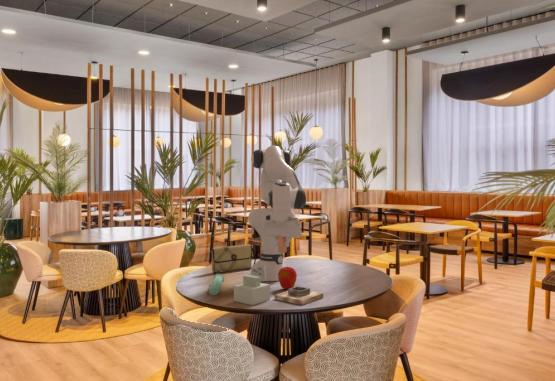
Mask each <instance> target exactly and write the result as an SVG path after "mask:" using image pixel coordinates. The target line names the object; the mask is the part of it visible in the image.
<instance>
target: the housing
mask: <svg viewBox="0 0 555 381" xmlns="http://www.w3.org/2000/svg"><path fill="white" fill-rule="evenodd" d="M242 282H243V283H240V284H235V285H233V302H237V303H242V304H245V305H249V306H255V305H258V304H261V303H264V302H267V301H270V300H271V292H270V290H271V288H270V287H271V286H270V283H262V282H261V281H260V277H257V276H252V275H248V274H246V275H242Z"/></svg>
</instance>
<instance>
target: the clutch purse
mask: <svg viewBox="0 0 555 381" xmlns="http://www.w3.org/2000/svg"><path fill="white" fill-rule="evenodd" d="M209 253H211V272H212V274H215V273H214V272H217V273H223V274H226V272H230V271H229V270H231V271H237V270H236V269H238V270H244V269H243V268H246V271H249V270H250V271H251V267H252V266H253V265H254V264H255V263H256V262H257V258H256V253H255V250H254V247H253V246H252V244H251V243H249V244H240V245H239V244H238V245H231V246H230V245H229V246H221V247H220V246H219V247H212V248H211V249H210V251H209ZM252 257H254V261H253V262H254V263H253V264H252ZM221 271H224V272H221Z"/></svg>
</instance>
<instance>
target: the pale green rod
mask: <svg viewBox="0 0 555 381" xmlns="http://www.w3.org/2000/svg"><path fill="white" fill-rule="evenodd" d="M224 279H225V278H224V276H223V275H222V274H221V273H216V274H215V275H214V276H213V277H212V281H211V283H210V286H209V288H208V293H209V294H210V295H211V296H217V295H218V294H219V293H220V290H221V288H222V284H223V283H224V281H225V280H224Z"/></svg>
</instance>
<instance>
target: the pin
mask: <svg viewBox="0 0 555 381" xmlns="http://www.w3.org/2000/svg"><path fill="white" fill-rule="evenodd" d="M286 241H287V240H286V237H282V236H280V235H278V252H279V253H283V254H284V253H287V252H288V251H287V250H288V247H285V245H284V243H286Z"/></svg>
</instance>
